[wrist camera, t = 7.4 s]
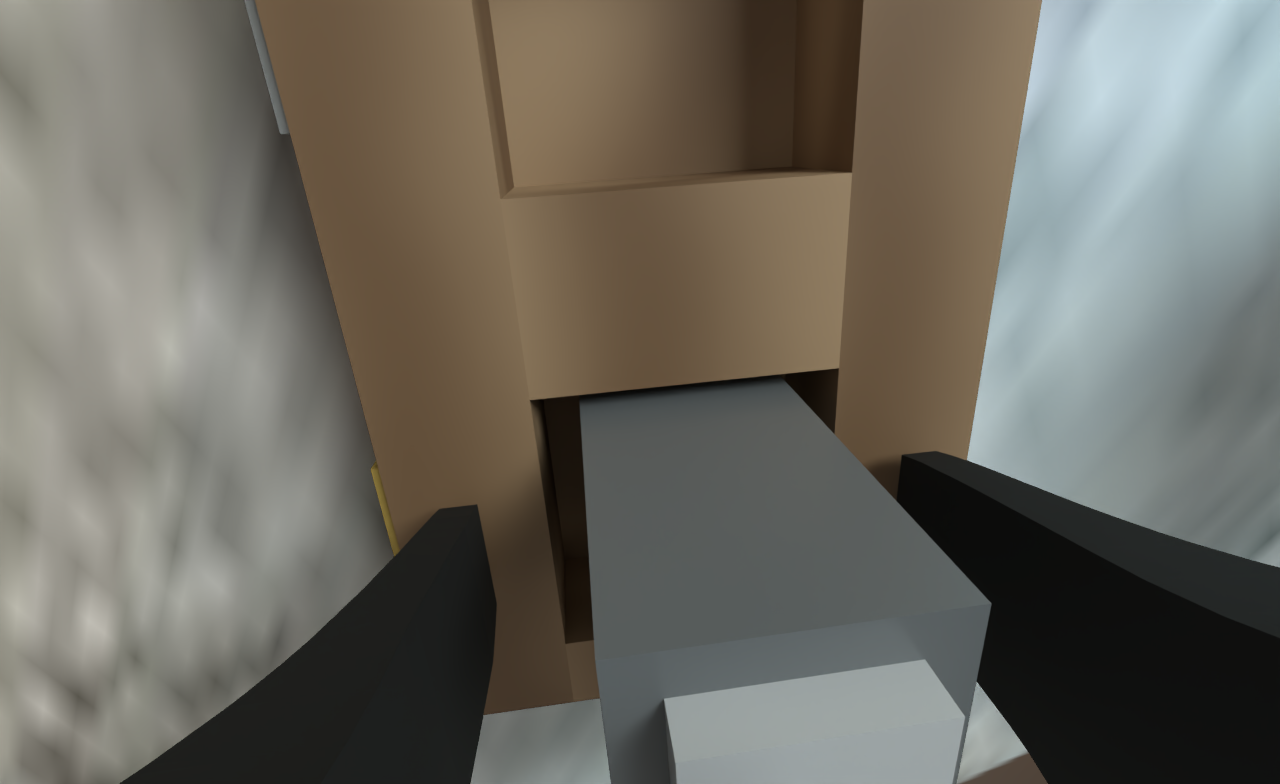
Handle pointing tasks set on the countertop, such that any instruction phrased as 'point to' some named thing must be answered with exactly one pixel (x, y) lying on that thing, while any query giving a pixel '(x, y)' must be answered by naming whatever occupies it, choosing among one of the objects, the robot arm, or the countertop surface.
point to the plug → (765, 598)
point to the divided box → (641, 240)
